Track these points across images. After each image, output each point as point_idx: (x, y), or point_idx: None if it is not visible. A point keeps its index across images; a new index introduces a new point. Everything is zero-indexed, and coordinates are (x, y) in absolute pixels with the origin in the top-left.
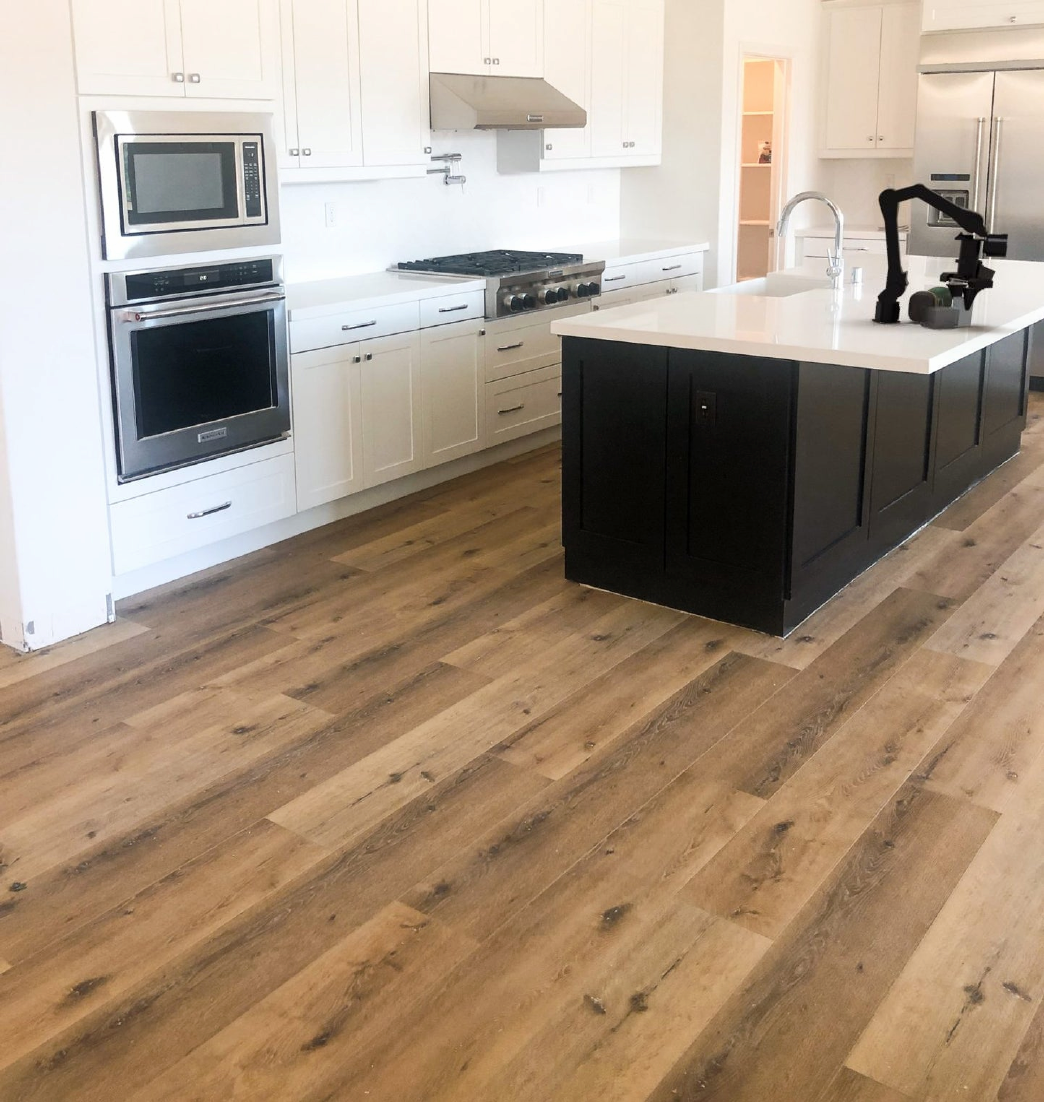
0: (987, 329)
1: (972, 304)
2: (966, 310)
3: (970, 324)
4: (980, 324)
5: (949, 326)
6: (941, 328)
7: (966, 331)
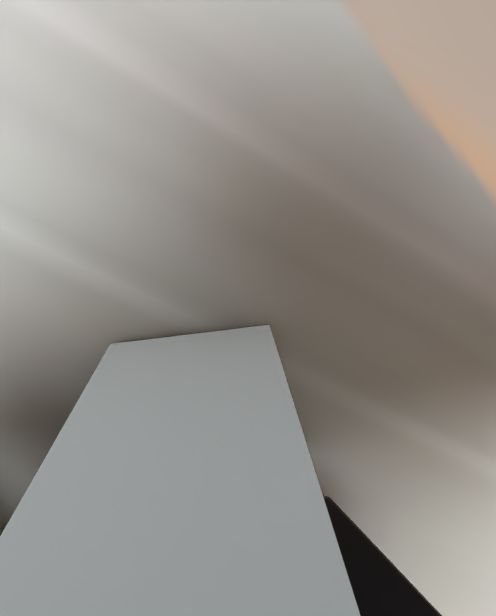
0: (441, 215)
1: (323, 518)
2: None
3: (271, 334)
4: (68, 83)
5: None
6: None
7: (478, 461)
